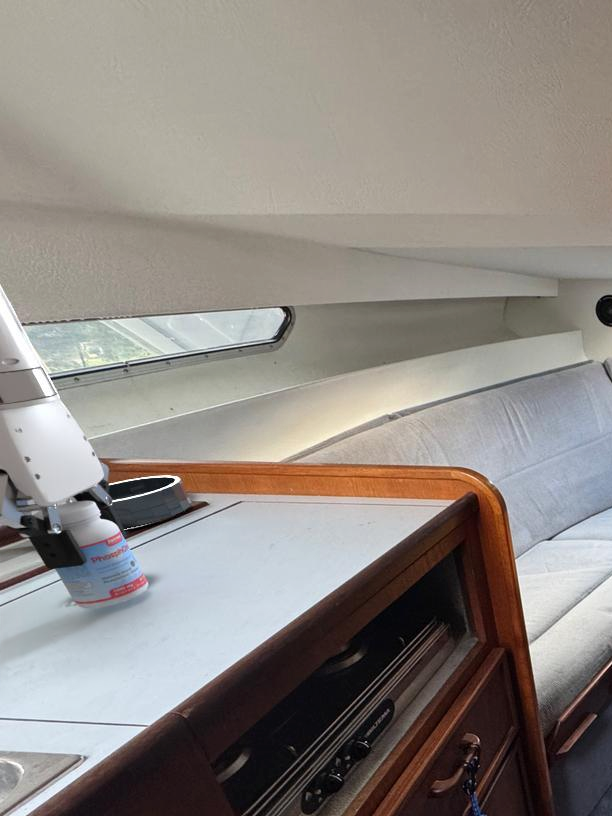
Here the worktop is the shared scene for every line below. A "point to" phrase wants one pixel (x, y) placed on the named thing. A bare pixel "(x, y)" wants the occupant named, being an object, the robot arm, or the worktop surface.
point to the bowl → (147, 499)
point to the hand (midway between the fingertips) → (89, 551)
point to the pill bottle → (98, 559)
